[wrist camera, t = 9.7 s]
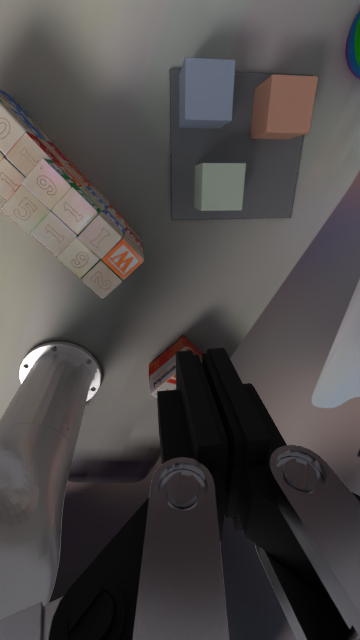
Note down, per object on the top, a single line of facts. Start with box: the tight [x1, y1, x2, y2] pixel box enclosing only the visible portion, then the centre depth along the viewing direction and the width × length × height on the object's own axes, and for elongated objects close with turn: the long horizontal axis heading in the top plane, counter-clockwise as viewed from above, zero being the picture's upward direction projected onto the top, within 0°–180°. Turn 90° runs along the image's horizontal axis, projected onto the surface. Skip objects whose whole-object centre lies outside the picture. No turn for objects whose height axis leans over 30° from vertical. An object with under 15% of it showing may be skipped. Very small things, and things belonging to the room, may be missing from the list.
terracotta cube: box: [250, 75, 318, 139], centre depth 33 cm, size 5×5×5 cm
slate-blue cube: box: [179, 57, 235, 129], centre depth 31 cm, size 5×5×5 cm
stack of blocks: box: [0, 90, 144, 299], centre depth 31 cm, size 21×6×12 cm, turn 41°
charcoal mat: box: [170, 69, 313, 220], centre depth 37 cm, size 16×17×1 cm
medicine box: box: [149, 335, 203, 398], centre depth 48 cm, size 15×8×8 cm, turn 43°
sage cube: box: [194, 163, 246, 211], centre depth 36 cm, size 5×5×5 cm
